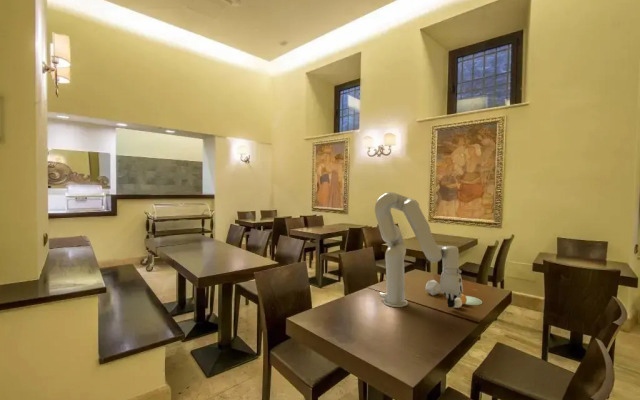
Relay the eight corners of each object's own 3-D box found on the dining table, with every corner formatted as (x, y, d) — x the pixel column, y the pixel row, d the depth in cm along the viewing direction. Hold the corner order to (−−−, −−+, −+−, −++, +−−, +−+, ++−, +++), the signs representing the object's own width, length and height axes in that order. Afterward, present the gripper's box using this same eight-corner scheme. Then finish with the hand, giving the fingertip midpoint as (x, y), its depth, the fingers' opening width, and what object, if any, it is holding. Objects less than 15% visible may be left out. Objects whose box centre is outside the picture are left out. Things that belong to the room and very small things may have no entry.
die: (443, 297, 172) (444, 281, 177) (433, 292, 169) (434, 275, 175) (431, 298, 179) (432, 283, 184) (421, 293, 176) (422, 277, 181)
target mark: (451, 301, 164) (451, 301, 164) (456, 294, 175) (456, 294, 175) (480, 307, 156) (480, 306, 156) (483, 299, 167) (483, 298, 167)
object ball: (454, 304, 160) (454, 294, 159) (456, 301, 164) (456, 291, 164) (465, 306, 156) (465, 296, 156) (467, 303, 161) (467, 293, 161)
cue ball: (454, 292, 157) (457, 299, 159) (446, 299, 157) (450, 306, 159) (462, 298, 152) (466, 304, 154) (454, 305, 152) (458, 312, 154)
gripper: (469, 272, 148) (469, 309, 149) (440, 266, 160) (441, 301, 161) (461, 275, 144) (462, 313, 144) (432, 269, 155) (433, 304, 156)
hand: (451, 306), depth 152 cm, fingers closed
